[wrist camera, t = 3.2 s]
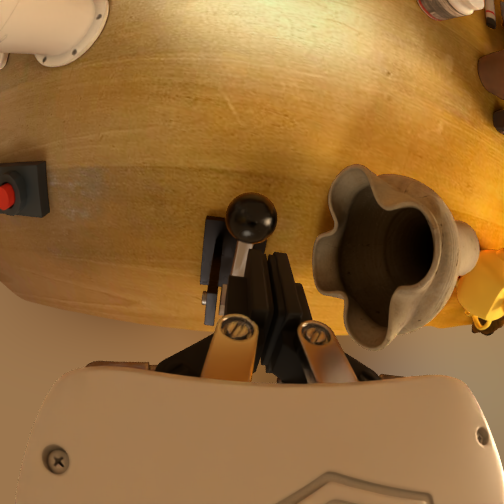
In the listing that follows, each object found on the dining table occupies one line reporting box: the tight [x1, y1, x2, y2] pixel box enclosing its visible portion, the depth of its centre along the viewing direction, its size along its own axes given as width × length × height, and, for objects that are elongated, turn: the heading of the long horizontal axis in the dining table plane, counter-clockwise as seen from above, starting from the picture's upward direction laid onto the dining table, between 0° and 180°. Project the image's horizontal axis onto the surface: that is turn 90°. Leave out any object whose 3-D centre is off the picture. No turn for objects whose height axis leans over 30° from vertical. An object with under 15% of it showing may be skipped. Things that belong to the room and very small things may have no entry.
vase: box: [312, 164, 480, 351], centre depth 30 cm, size 22×22×28 cm
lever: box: [219, 192, 277, 316], centre depth 23 cm, size 16×3×3 cm, turn 171°
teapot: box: [456, 248, 504, 330], centre depth 35 cm, size 14×20×13 cm
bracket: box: [200, 216, 267, 326], centre depth 32 cm, size 10×8×12 cm
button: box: [0, 183, 15, 210], centre depth 26 cm, size 4×4×2 cm
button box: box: [0, 161, 50, 218], centre depth 28 cm, size 12×8×4 cm, turn 80°
